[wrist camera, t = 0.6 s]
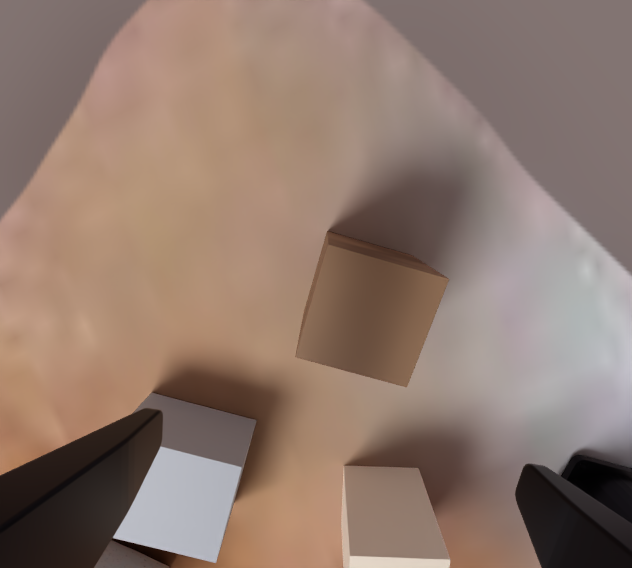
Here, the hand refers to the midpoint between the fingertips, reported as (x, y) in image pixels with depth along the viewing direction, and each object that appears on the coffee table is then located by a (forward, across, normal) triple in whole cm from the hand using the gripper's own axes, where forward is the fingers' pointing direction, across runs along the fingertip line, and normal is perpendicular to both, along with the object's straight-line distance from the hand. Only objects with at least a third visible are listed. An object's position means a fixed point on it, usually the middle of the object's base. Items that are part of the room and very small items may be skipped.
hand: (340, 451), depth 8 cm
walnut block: (+12, -1, -2) cm, 12 cm away
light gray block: (+12, +8, +11) cm, 18 cm away
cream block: (+12, -5, +13) cm, 19 cm away
